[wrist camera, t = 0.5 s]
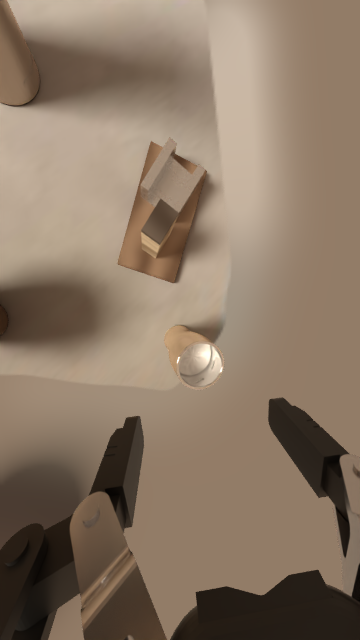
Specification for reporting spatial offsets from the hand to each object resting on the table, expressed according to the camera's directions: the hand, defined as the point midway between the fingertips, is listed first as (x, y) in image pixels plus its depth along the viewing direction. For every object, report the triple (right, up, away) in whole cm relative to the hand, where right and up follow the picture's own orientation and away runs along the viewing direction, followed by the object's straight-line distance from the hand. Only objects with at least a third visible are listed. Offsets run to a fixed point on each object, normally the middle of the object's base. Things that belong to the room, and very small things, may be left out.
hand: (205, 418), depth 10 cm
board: (-5, +26, +22) cm, 34 cm away
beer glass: (-2, +2, +26) cm, 26 cm away
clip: (-3, +30, +21) cm, 37 cm away
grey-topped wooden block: (-6, +21, +22) cm, 31 cm away
